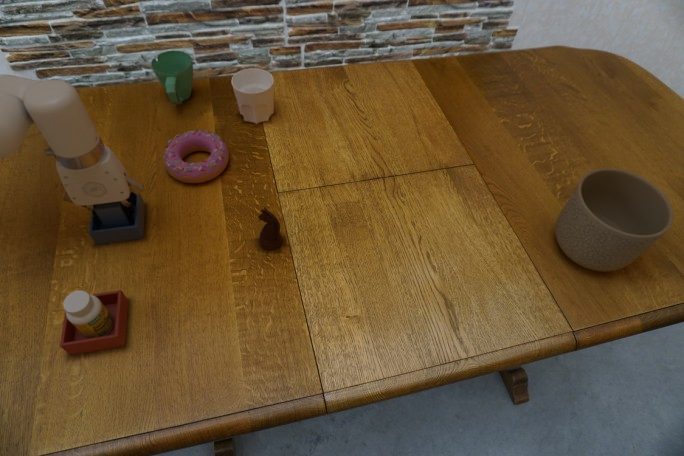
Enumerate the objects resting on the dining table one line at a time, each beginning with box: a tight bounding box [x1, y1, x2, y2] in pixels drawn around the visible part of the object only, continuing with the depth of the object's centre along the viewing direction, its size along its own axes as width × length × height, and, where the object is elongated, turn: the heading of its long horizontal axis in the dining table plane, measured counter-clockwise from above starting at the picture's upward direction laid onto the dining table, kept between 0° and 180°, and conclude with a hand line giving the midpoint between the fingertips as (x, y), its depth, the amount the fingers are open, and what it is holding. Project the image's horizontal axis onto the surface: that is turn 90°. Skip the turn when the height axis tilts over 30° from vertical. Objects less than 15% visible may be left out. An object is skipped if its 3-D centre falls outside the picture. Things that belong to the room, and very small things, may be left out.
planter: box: [554, 167, 675, 272], centre depth 91 cm, size 17×17×15 cm
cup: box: [230, 67, 275, 125], centre depth 114 cm, size 10×10×10 cm
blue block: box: [95, 201, 130, 229], centre depth 92 cm, size 5×5×6 cm
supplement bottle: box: [62, 290, 114, 339], centre depth 78 cm, size 5×5×10 cm
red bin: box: [59, 289, 130, 356], centre depth 80 cm, size 9×9×4 cm
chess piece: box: [257, 207, 283, 251], centre depth 91 cm, size 5×5×10 cm
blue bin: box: [88, 193, 146, 246], centre depth 94 cm, size 9×9×4 cm
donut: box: [162, 129, 230, 184], centre depth 105 cm, size 14×14×5 cm
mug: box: [150, 49, 194, 105], centre depth 116 cm, size 15×10×10 cm
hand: (117, 215), depth 93 cm, fingers closed on blue block, 4 cm apart
